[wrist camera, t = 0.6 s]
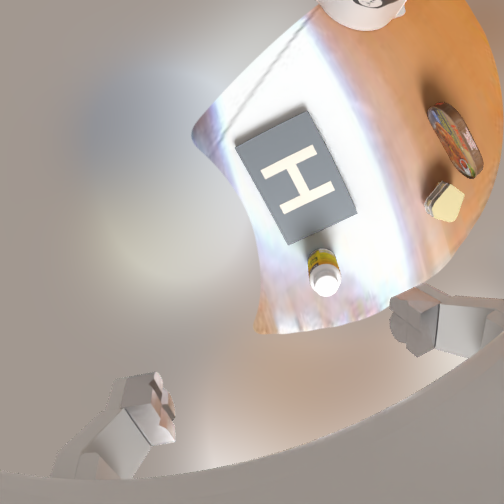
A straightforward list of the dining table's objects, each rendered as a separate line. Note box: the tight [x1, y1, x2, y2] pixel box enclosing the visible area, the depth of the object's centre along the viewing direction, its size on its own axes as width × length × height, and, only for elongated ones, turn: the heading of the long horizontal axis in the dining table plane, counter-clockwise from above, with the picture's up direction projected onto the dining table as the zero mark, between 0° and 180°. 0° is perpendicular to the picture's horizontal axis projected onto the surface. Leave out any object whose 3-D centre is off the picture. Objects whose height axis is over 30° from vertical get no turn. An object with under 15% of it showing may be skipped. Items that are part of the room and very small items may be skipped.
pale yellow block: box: [424, 181, 465, 222], centre depth 47 cm, size 10×9×6 cm
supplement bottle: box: [308, 248, 341, 296], centre depth 52 cm, size 6×6×10 cm
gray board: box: [235, 111, 357, 245], centre depth 51 cm, size 20×14×2 cm
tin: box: [428, 102, 483, 179], centre depth 41 cm, size 15×3×8 cm, turn 39°
